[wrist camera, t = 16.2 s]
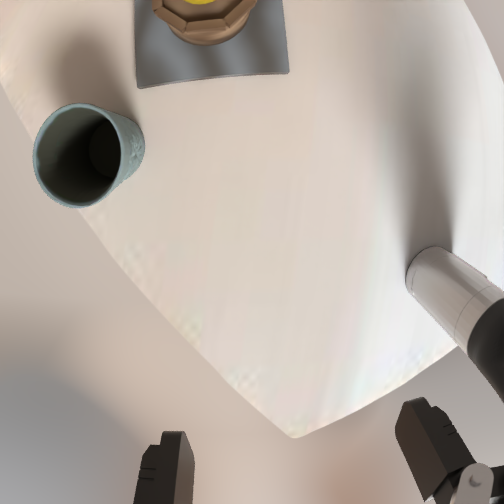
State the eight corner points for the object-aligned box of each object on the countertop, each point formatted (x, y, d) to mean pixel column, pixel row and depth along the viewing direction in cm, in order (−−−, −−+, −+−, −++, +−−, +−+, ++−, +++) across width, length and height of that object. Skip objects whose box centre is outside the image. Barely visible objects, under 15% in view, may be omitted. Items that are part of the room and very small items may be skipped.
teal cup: (72, 127, 35) (22, 130, 24) (140, 96, 34) (105, 84, 23) (95, 197, 38) (51, 223, 27) (164, 171, 38) (137, 187, 27)
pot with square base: (274, -41, 28) (284, -74, 20) (287, 74, 35) (302, 59, 26) (138, -27, 27) (120, -56, 19) (140, 89, 34) (117, 78, 26)
